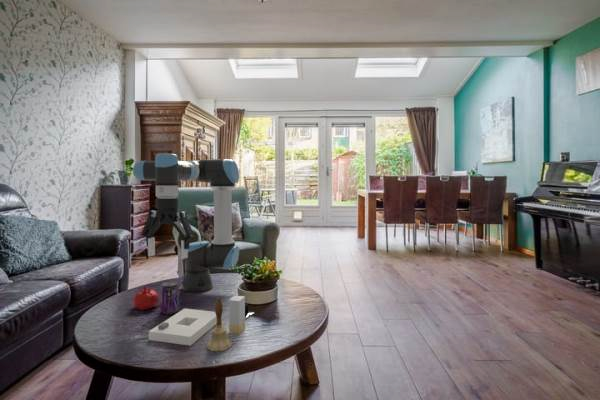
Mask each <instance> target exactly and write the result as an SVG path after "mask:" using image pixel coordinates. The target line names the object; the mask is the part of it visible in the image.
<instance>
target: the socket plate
mask: <svg viewBox="0 0 600 400" xmlns="http://www.w3.org/2000/svg"><path fill="white" fill-rule="evenodd" d="M216 323H217V317H216V313H215V311H211V310H210V311H209V310H202V309H192V308H186V307H185V308H182V310H179V311H177V312H176V313H174V315H172V316H170V317H169V318H167V319H166V320H165V321H162V322H161V323H160V324H157V326H156V325H155V327H152V329H150V330H149V331H148V340H149V341H154V342H155V341H156V342H160V343H169V344H176V345H182V346H183V345H184V346H189V347H191V346H192V345H193V344H194V343H196V342H197V341H198V340H199V339H200V338H201V337H203V336H205V334H206V333H207V332H209V331H210V330H211V329H212V328H213V327H214V326H217V325H216Z"/></svg>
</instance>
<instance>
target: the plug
mask: <svg viewBox="0 0 600 400" xmlns="http://www.w3.org/2000/svg"><path fill="white" fill-rule="evenodd" d="M245 304H246V296H245V295H234V296H232V297H231V298H229V300H228V323H229V324H228V332H229V333H230V334H231V333H232V334H238V335H240V334H241V333H242V332H243V331H244V330H245V328H246V318H245Z"/></svg>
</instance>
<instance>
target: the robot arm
mask: <svg viewBox="0 0 600 400" xmlns="http://www.w3.org/2000/svg"><path fill="white" fill-rule="evenodd" d="M133 175H134V176H135V178H136V179H137V180H139V181H155V197H156V199H155V208H156V210H155V209H154V210H148V217H147V219H146V221H145V224H144V227H143V228H142V230H141V236H142V237H145V239H146V247H147V256H148V257H152V256H155V255H156V243H155V241H156V238H155V236H154V235H155V234H156V232H157V231H158V230H159V228H160V227H161V225H164V224H166V225H171V226H173V227H174V229H175V230H176V231H177V233H178V234H179V235H180V238H182V240H181V241H180V245H181V246H180V248H181V250H180V251H181V253H180V254H181V256H180V257H181V258H180V259H181V260H184V261H185V262H184V268H185V269H184V271H185V272H184V276H183V278H182V282H181V290H182V291H184V292H187V293H199V292H200V293H201V292H205V291H208V290H211V289H212V288H213V287H214V284H213V283H214V282H213V278H212V276H211V273H210V269H219V270H232V269H231V267H232V264H234V265H235V266H237V263H238V261H239V257H240V256H239V255H240V247H239V246H238V245H236V241H235V240H234V239H233V237H232V236H233V231H232V230H233V227H232V224H233V218H232V217H233V212H232V211H233V208H232V207H233V206H232V205H233V204H232V203H233V202H232V200H233V199H232V198H233V197H232V193H233V191H232V190H233V189H234V188H235V186H236V185H235V184H237V183H238V182H239V180H240V171H239V168H238V165H237V163H236V161H235V160H233V159H231V158H230V159H229V158H203V159H196V160H195V159H194V160H179V157H178V155H177V154H175V153H157V154H156V155H155V158H154V160H139V161H137V162H135V163H134V165H133ZM187 181H188V182H199V183H207V184H210V188H211V189H212V190H213V240H211V241H210V242H209V240H201V241H195V242H190V240H191V239H194V238H195V233H194V231H193V229H192V227H191V224H190V221H189V219H188V217H187V212H186V211H180V212H179V210H178V209H179V199H178V197H179V182H187ZM156 217H157V219H156ZM178 218H179V219H178Z"/></svg>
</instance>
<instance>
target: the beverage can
mask: <svg viewBox="0 0 600 400" xmlns="http://www.w3.org/2000/svg"><path fill="white" fill-rule="evenodd" d="M179 311H180V287H179V285H178V282H177V281H172V280H171V281H165V282H162V283H161V287H160V313H163V314H165V315H172V314H176V313H178V312H179Z"/></svg>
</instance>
